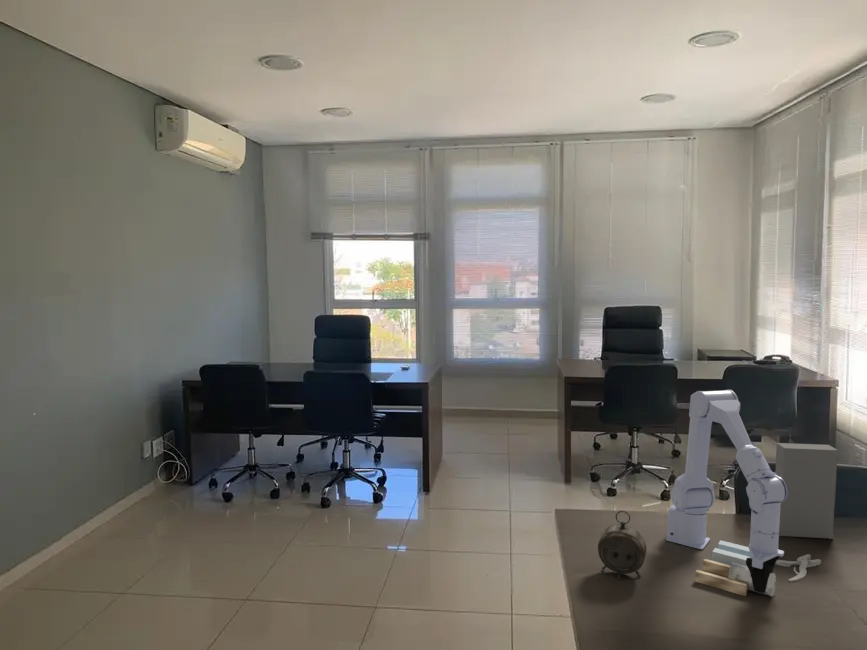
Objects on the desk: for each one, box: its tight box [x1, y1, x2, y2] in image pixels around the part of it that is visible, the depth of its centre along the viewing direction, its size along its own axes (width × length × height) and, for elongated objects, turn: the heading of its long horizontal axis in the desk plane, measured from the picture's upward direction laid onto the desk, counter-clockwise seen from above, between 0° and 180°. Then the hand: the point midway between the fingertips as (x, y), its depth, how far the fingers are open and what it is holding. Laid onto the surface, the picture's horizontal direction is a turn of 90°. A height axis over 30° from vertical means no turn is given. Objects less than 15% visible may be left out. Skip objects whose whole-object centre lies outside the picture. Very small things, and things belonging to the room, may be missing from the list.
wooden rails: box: [694, 558, 748, 597], centre depth 149 cm, size 11×8×2 cm
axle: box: [727, 563, 777, 598], centre depth 145 cm, size 9×5×5 cm, turn 52°
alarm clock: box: [597, 510, 647, 580], centre depth 151 cm, size 11×5×16 cm, turn 65°
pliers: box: [775, 554, 822, 583], centre depth 156 cm, size 10×2×15 cm
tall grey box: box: [774, 442, 839, 540], centre depth 175 cm, size 14×6×25 cm, turn 82°
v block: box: [711, 540, 752, 566], centre depth 157 cm, size 8×8×4 cm
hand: (761, 586), depth 144 cm, fingers closed on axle, 5 cm apart
